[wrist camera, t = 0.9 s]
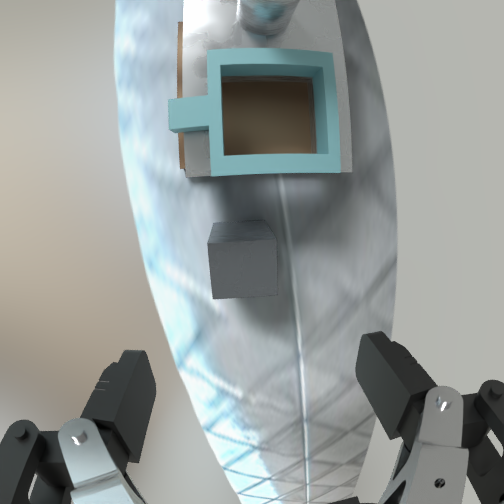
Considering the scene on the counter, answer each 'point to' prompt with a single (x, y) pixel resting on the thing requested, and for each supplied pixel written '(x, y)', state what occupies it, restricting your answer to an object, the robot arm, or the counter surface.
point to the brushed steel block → (242, 259)
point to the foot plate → (259, 115)
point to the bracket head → (264, 63)
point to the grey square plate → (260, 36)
